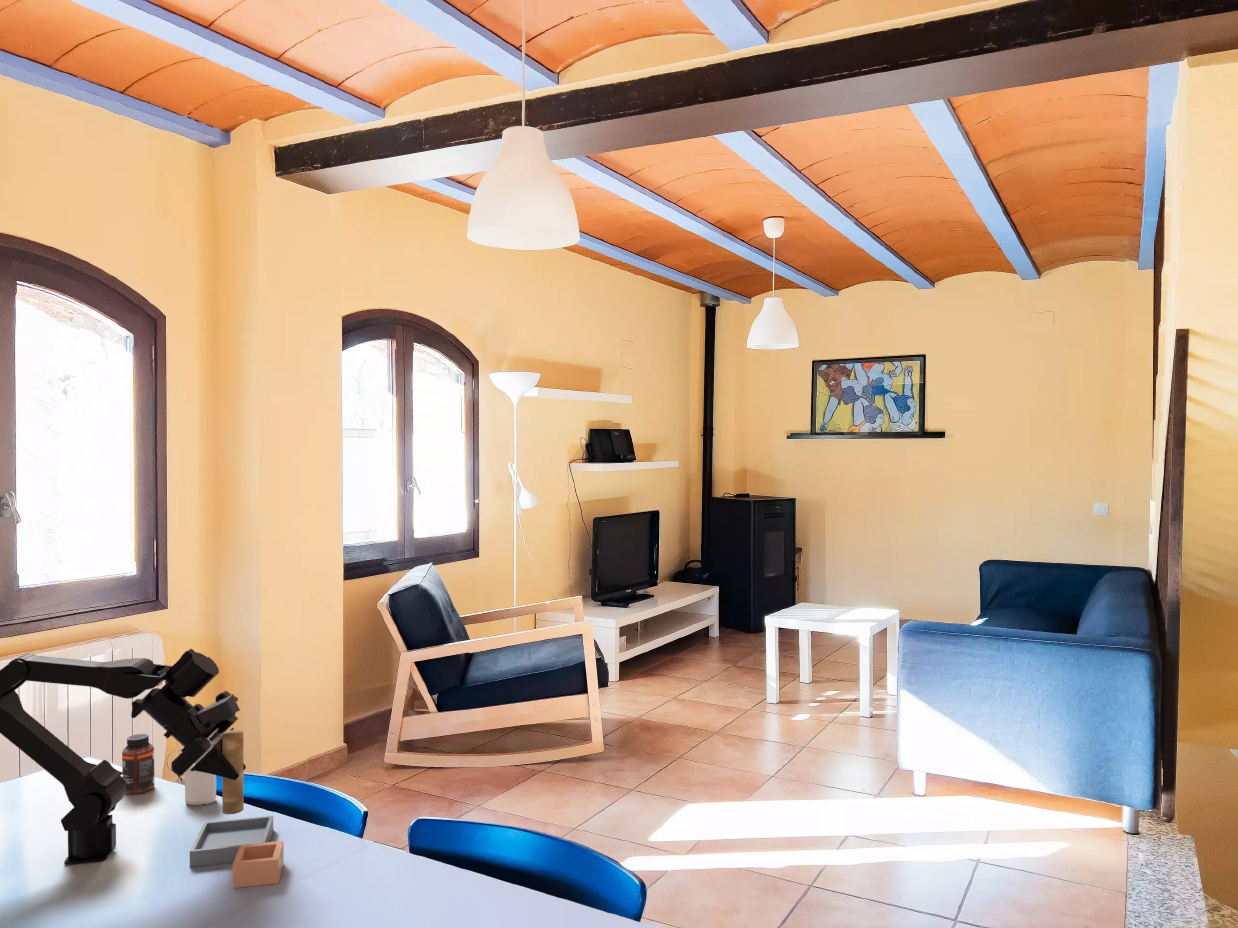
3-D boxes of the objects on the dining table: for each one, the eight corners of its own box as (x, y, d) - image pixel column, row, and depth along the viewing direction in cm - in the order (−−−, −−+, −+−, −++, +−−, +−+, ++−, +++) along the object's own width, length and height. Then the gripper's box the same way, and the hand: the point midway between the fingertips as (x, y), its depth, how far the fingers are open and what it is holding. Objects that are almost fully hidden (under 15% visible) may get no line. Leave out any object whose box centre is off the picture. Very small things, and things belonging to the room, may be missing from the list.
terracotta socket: (232, 888, 145) (232, 864, 144) (240, 867, 151) (240, 844, 151) (278, 882, 146) (278, 859, 146) (283, 863, 153) (283, 840, 153)
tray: (189, 866, 152) (189, 851, 152) (204, 836, 163) (204, 822, 163) (264, 858, 155) (264, 843, 155) (273, 829, 166) (273, 815, 166)
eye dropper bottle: (201, 808, 176) (200, 749, 175) (181, 803, 178) (181, 744, 178) (219, 800, 180) (219, 742, 179) (200, 795, 182) (199, 738, 182)
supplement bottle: (160, 784, 188) (160, 732, 187) (143, 795, 182) (142, 741, 182) (134, 783, 188) (133, 731, 188) (116, 794, 182) (115, 740, 182)
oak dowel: (224, 815, 156) (224, 737, 156) (220, 808, 159) (220, 732, 159) (245, 811, 158) (245, 734, 158) (241, 804, 161) (241, 728, 161)
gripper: (190, 697, 148) (259, 760, 150) (226, 668, 167) (286, 724, 169) (141, 745, 148) (210, 807, 149) (182, 711, 166) (244, 767, 168)
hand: (240, 773), depth 159 cm, fingers closed on oak dowel, 3 cm apart
